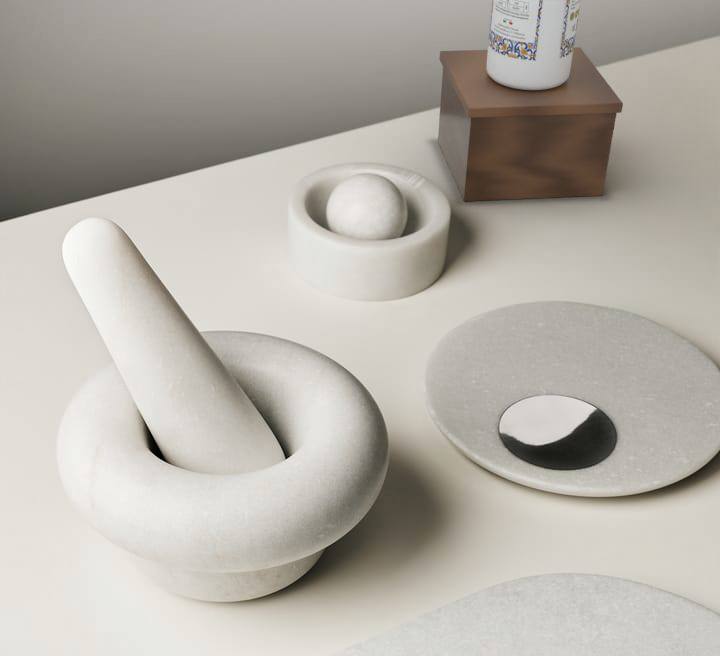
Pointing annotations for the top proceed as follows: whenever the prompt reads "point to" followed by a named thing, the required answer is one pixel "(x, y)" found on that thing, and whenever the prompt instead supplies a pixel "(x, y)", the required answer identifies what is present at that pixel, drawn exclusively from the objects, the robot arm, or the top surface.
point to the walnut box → (525, 131)
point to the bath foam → (531, 42)
